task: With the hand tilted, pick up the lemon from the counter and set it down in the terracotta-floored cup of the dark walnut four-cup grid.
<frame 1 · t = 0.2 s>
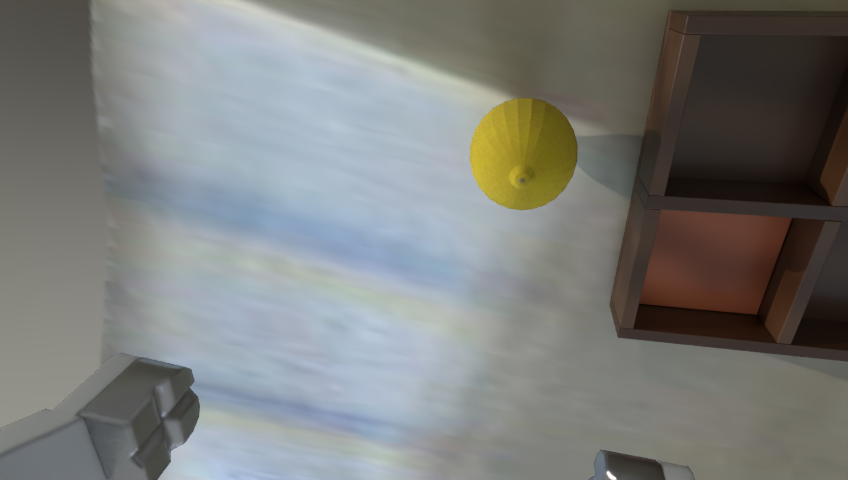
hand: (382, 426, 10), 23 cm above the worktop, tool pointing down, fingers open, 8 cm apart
lemon: (523, 132, 30), on the worktop
grid: (804, 188, 29), on the worktop
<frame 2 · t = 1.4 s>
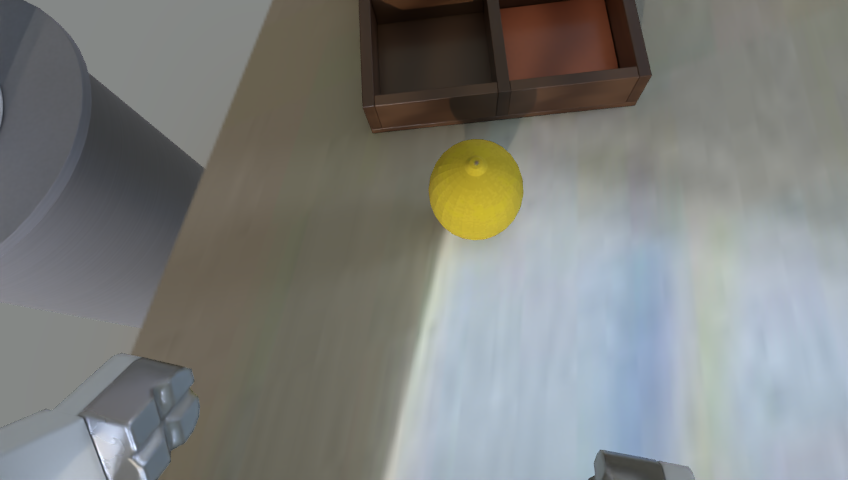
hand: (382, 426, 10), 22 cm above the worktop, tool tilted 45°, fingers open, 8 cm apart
lemon: (475, 214, 34), on the worktop
grid: (488, 11, 38), on the worktop
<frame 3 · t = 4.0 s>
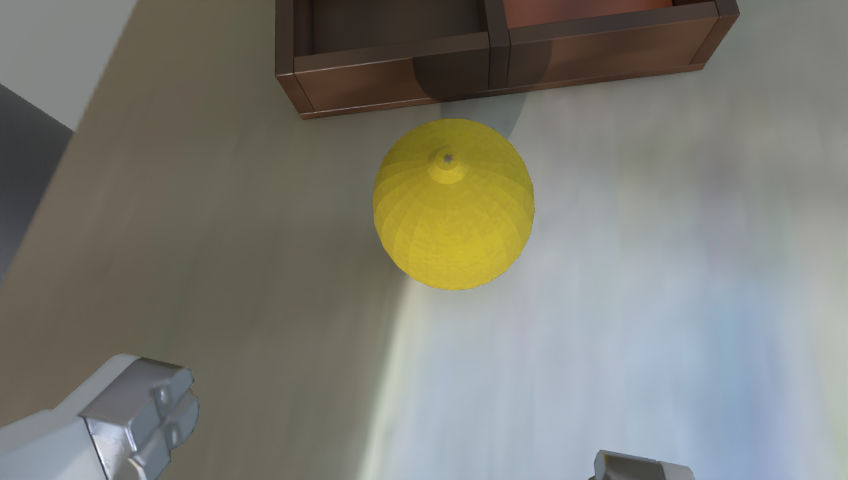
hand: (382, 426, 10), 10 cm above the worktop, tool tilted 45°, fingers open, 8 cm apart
lemon: (457, 243, 22), on the worktop
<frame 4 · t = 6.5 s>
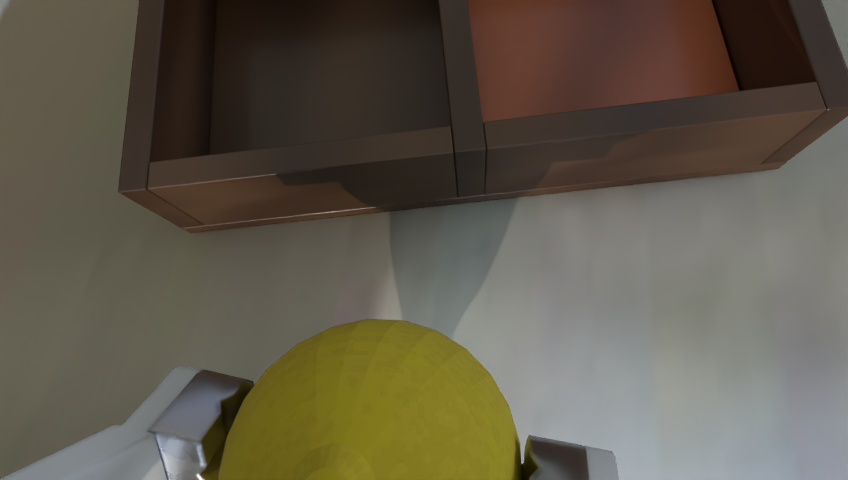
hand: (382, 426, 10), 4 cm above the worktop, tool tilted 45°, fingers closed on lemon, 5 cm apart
lemon: (408, 440, 14), on the worktop, touching gripper
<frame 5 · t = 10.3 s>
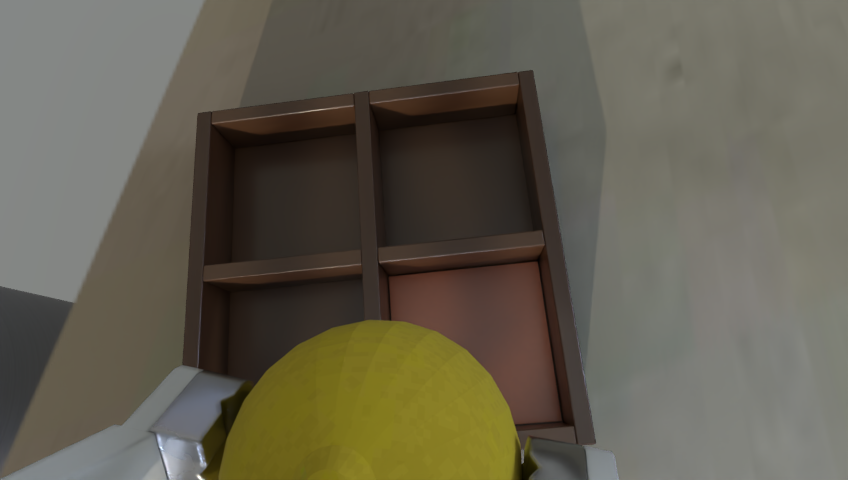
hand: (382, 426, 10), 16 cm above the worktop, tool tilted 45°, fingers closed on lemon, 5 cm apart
lemon: (408, 441, 14), point 12 cm above the worktop, touching gripper
grid: (382, 272, 28), on the worktop
when the fingers open (5 cm above the worktop, at t = 14.4 s): lemon stays where it is, resting on grid.
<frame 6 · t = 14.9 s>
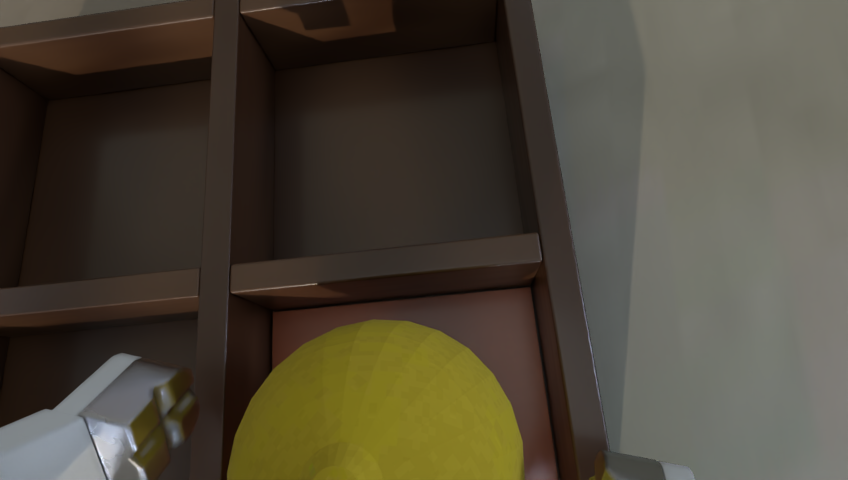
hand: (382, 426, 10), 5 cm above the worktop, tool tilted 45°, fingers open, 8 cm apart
lemon: (411, 439, 14), point 1 cm above the worktop, touching grid
grid: (267, 303, 16), on the worktop
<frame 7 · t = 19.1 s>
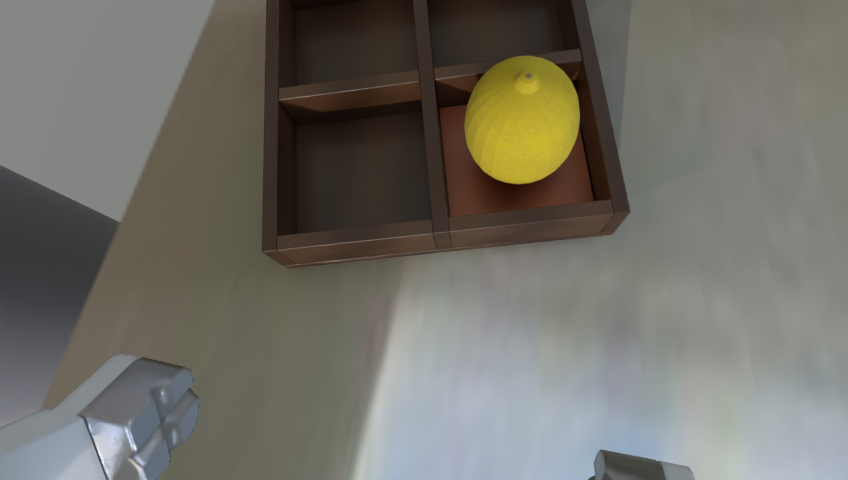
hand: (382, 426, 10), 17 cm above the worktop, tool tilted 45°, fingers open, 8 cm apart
lemon: (515, 161, 29), point 1 cm above the worktop, touching grid
grid: (432, 108, 31), on the worktop
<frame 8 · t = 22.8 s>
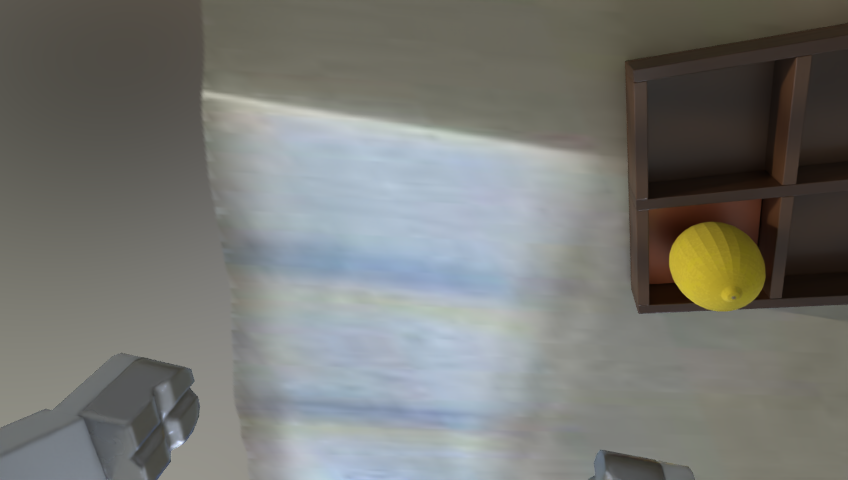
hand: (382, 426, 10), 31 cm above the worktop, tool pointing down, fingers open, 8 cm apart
lemon: (698, 236, 38), point 1 cm above the worktop, touching grid
grid: (767, 172, 36), on the worktop
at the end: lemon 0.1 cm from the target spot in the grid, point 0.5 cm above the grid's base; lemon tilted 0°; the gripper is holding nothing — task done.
